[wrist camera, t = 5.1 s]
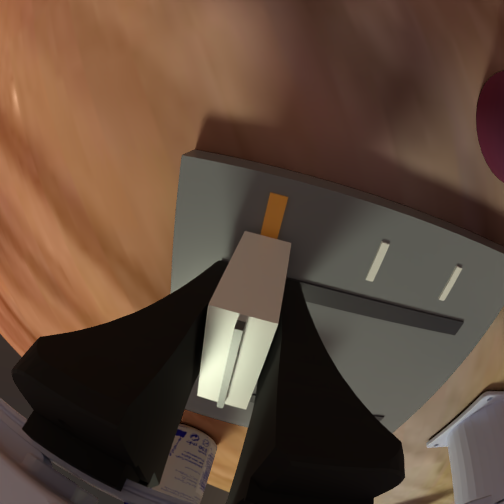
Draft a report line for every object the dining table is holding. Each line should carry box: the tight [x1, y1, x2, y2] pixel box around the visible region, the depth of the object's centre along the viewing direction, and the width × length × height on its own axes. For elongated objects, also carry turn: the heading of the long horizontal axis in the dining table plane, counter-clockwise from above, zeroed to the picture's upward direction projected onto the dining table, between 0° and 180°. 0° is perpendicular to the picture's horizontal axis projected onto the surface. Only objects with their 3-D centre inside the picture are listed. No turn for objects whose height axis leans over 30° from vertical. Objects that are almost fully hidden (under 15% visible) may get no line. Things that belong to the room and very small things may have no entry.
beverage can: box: [124, 424, 217, 504], centre depth 16 cm, size 6×6×15 cm
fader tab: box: [197, 231, 291, 410], centre depth 9 cm, size 2×4×4 cm, turn 169°
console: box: [171, 149, 504, 433], centre depth 12 cm, size 15×16×6 cm
